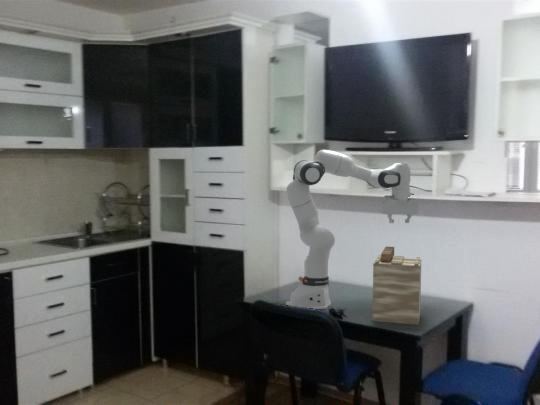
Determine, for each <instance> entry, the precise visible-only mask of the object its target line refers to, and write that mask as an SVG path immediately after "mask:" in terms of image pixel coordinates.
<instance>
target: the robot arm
mask: <svg viewBox="0 0 540 405" xmlns="http://www.w3.org/2000/svg"><path fill="white" fill-rule="evenodd" d="M325 173H327V174H331V175H334V176H336V177H337V176H338V177H343V178H344V177H345V178H348V177H350V178H351V177H352V178H355V179H357V180H360V181H364V182H366V183H367V184H368V185H369V186H370V187H371V188H374V189H385V190H386V189H387V190H388V189H390V188H391V195H384V196H383V197H382V203H381V210H380V211H381V213H382V214H383V215H387V218H388V222H389V224H394V221H395V220H394V219H393V215H406V216H407V217H406V219H404V223H405V224H410V220H411V218H412V216H413V215H417V214H418V213H419V208H420V206H419V200H418V199H412V198H408V197H410V196H411V195H414V194H415V193H413V192H411V187H410V183H411V167H410V166H409V165H408V163H403V162H395V163H393V164H392V165H389V166H388V167H385V168H372V169H371V168H367V167H363V166H362V165H359V164H358V165H357V164H356V163H355V161H354V159H353V158H352V157H350V156H349V155H347V154H345V153H342V152H339V151H334V150H329V149H320V150H318V151H317V152H316V154H315V156H314V158H313V159H312V160H307V159H304V160H300V161H298V162H297V163H296V164H294V167H293V175H292V181H291V182H289V183H288V185H287V186H286V195H287V198H288V201H289V204H290V206H291V209H292V211H293V214H294V216H295V218H296V221H297V224H298V227H299V228H298V230H299V234H300V235H299V237H300V240H301V242H302V243H303V244H304V245H306V246H308V247H309V251H308V255H307V256H308V258H307V257H306V258H307V259H306V258H305V260H306V275H305V277H302V276H299V277H298V279H297V280H298V281H300V282H302V283H301V284H300V285H299V286H298V287H296V288H295V289H294V290H293V291H291V294H290V298H289V300H287V301H286V302H285V306H286V305H291V306H299V307H307V308H313V309H312V310H325V309H328V307H330V306H331V305H332V302H331V300H330V294H329V292H330V291H329V286H330V284H329V283H330V282H329V281H330V280H329V259H330V253H331V250H332V248H333V247H334V245H335V241H336V239H335V236H334V234H333V233H332V231H330V230H329V229H327V228H326V227H322V225H321V224H320V221H319V210H318V208H317V206H316V204H315V201H314V198H313V196H312V194H311V191H310V186H314V185H316V184H318V183H319V182H320V181H321V179H322V178H323V177H324V175H325Z"/></svg>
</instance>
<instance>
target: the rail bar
mask: <svg viewBox="0 0 540 405" xmlns="http://www.w3.org/2000/svg"><path fill="white" fill-rule="evenodd" d="M380 255H381V262H385V263H390V262H391V260H392V258H394V256H395V246H385V247H384V249H383V250H382V251H381V253H380Z"/></svg>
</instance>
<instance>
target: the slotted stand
mask: <svg viewBox="0 0 540 405" xmlns="http://www.w3.org/2000/svg"><path fill="white" fill-rule="evenodd" d="M372 265H373V266H372V269H373V270H372V316H371V317H372V322H380V323H381V322H383V323H395V324H404V325H405V324H406V325H407V324H408V325H414V326H415V325H416V326H417V325H418V326H419V324H420V318H421V301H422V300H421V297H422V296H421V294H422V293H421V291H422V290H421V289H422V288H421V287H422V259H421V258H420V257H419V256H417V257H415V258H405V256H402V255H398V256H397V255H394V257H393V258H392V260H391V262H390V263H385V262H381V254H380V255H378V256H377V257H376V259H375V260H374V262H373V263H372Z"/></svg>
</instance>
